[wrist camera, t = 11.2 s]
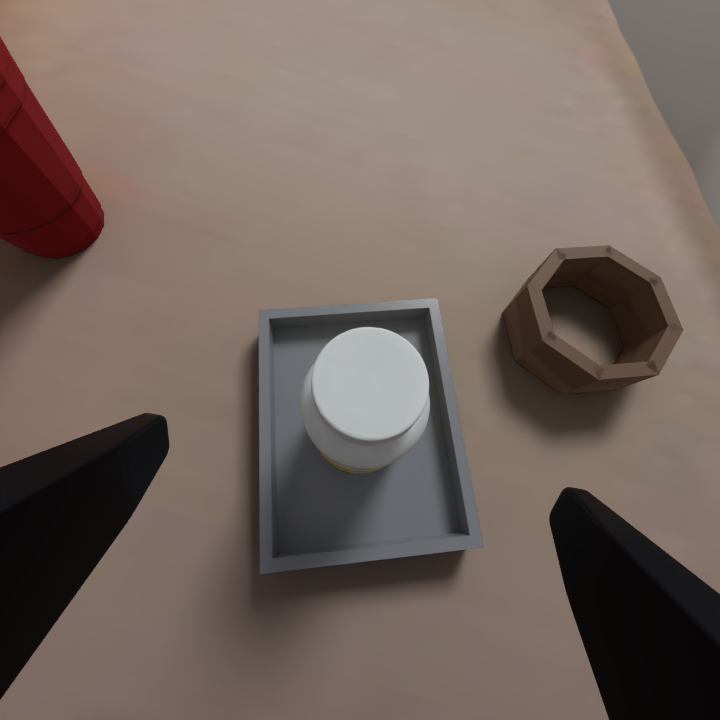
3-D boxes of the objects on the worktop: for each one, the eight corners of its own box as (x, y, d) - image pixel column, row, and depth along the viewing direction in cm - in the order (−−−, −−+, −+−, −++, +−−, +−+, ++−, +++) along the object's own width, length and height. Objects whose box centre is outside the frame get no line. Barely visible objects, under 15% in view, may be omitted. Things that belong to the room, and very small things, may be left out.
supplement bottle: (376, 491, 20) (404, 500, 11) (295, 443, 20) (255, 412, 11) (419, 408, 21) (475, 354, 12) (342, 366, 22) (341, 284, 13)
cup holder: (650, 386, 23) (700, 371, 20) (523, 398, 23) (555, 383, 19) (607, 273, 26) (646, 243, 23) (494, 280, 25) (517, 250, 22)
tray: (468, 540, 20) (484, 547, 18) (269, 563, 19) (259, 574, 17) (428, 314, 24) (437, 298, 22) (266, 326, 23) (258, 310, 21)
